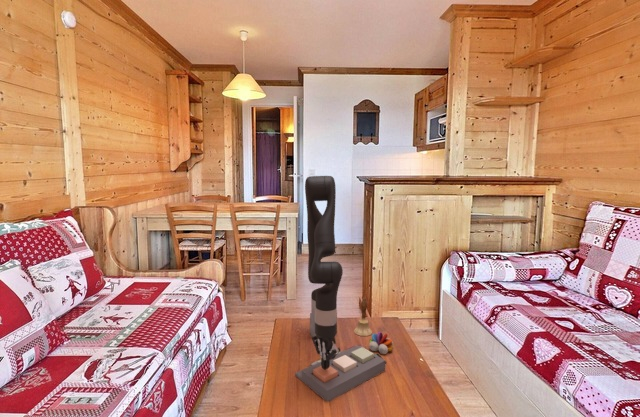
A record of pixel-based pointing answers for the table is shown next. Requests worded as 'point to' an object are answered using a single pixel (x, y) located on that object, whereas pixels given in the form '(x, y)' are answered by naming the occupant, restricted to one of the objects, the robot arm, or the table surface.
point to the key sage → (362, 355)
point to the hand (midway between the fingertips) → (325, 368)
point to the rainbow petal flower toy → (380, 343)
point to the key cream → (344, 364)
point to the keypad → (341, 376)
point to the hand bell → (363, 322)
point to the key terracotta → (325, 374)
